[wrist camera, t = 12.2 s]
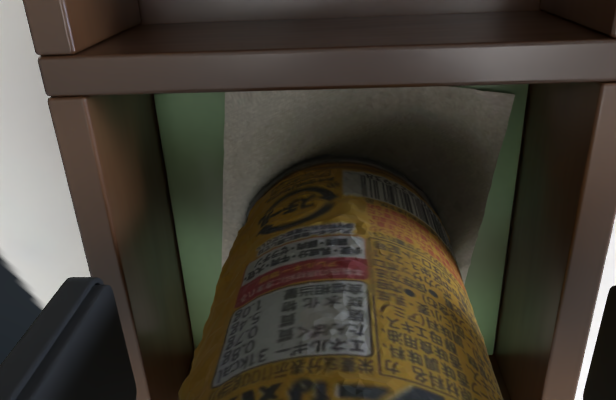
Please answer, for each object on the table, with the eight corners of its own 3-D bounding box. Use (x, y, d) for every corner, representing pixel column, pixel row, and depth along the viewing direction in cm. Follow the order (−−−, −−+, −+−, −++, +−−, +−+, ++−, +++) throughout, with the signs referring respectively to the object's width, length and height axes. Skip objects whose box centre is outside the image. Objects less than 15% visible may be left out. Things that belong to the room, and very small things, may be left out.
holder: (8, -589, 10) (-214, -940, 6) (665, -658, 9) (916, -1113, 5) (179, 359, 20) (137, 471, 15) (511, 360, 19) (557, 478, 15)
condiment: (220, 326, 18) (41, 923, 7) (227, 62, 14) (-126, 475, 3) (446, 349, 18) (609, 986, 7) (511, 90, 14) (1062, 601, 3)
